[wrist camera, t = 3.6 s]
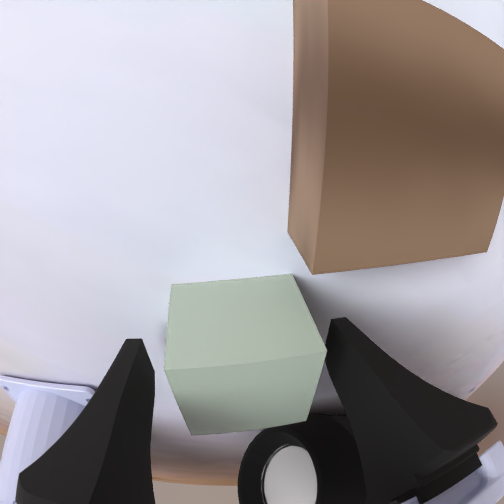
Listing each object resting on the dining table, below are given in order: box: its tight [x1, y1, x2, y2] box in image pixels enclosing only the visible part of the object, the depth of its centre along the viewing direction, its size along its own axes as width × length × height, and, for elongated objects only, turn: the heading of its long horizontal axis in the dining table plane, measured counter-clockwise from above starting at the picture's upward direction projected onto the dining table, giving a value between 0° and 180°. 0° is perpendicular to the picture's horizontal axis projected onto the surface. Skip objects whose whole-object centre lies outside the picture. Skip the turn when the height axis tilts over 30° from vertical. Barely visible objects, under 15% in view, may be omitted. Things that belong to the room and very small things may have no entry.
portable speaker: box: [238, 414, 398, 504], centre depth 17 cm, size 26×10×10 cm, turn 59°
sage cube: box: [164, 274, 327, 435], centre depth 10 cm, size 4×4×4 cm
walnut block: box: [288, 0, 504, 275], centre depth 8 cm, size 8×8×3 cm
